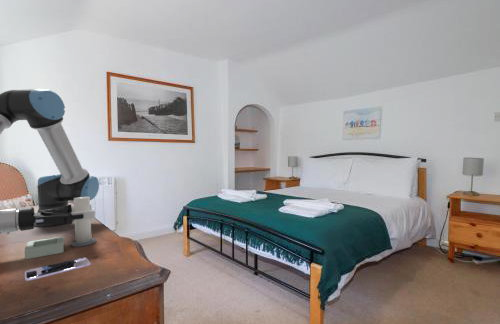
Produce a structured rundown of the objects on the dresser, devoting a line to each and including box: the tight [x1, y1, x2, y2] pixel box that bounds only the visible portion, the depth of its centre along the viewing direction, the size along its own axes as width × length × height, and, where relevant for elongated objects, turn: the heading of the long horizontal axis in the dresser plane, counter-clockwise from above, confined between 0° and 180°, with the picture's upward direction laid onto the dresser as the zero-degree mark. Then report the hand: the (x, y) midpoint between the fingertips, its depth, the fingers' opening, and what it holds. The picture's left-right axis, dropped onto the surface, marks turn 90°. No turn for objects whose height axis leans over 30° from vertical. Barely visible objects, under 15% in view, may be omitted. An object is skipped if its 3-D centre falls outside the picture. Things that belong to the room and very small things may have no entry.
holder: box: [24, 235, 65, 260], centre depth 92 cm, size 10×10×3 cm
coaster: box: [70, 237, 97, 248], centre depth 100 cm, size 8×8×1 cm
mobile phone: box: [23, 256, 91, 282], centre depth 78 cm, size 8×1×15 cm
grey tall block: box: [73, 197, 92, 243], centre depth 100 cm, size 5×5×16 cm
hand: (93, 210), depth 101 cm, fingers open, 13 cm apart
